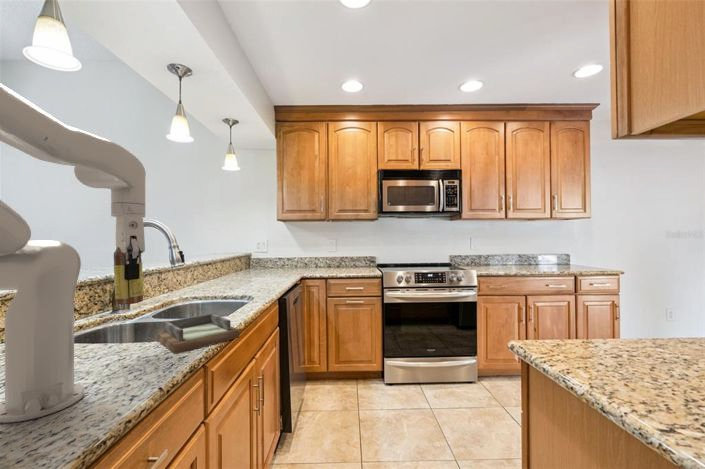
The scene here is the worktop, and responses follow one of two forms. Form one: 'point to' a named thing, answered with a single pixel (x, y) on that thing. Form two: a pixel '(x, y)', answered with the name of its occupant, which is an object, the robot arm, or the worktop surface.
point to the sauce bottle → (126, 281)
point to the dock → (196, 332)
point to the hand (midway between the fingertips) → (128, 277)
